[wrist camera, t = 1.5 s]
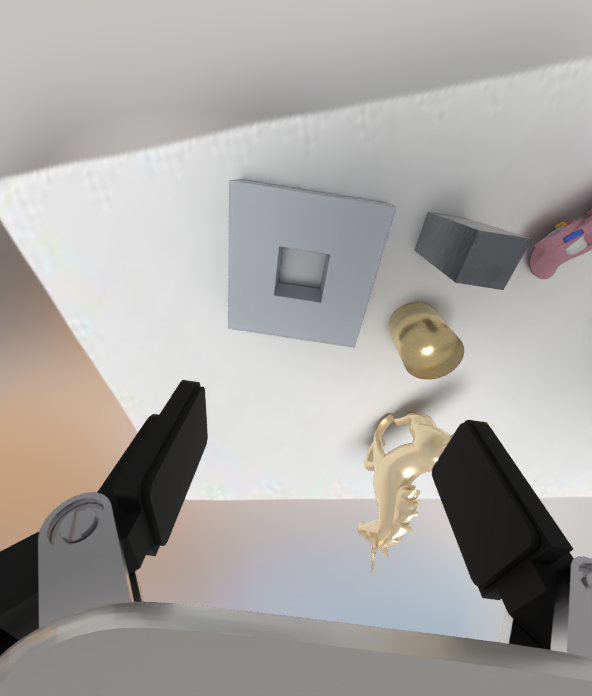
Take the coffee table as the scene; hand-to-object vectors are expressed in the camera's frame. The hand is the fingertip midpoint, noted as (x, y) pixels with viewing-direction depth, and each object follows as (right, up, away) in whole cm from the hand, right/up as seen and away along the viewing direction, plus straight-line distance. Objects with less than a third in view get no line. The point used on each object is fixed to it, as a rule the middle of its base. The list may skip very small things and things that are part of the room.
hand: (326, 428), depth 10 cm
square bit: (+13, +14, +18) cm, 26 cm away
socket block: (0, +12, +20) cm, 23 cm away
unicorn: (+14, -7, +31) cm, 35 cm away
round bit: (+13, +6, +23) cm, 27 cm away
